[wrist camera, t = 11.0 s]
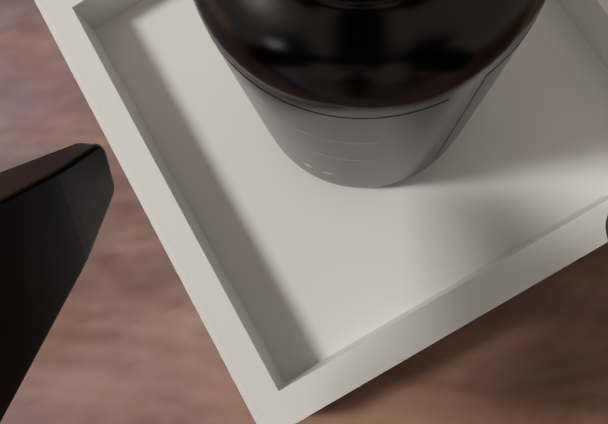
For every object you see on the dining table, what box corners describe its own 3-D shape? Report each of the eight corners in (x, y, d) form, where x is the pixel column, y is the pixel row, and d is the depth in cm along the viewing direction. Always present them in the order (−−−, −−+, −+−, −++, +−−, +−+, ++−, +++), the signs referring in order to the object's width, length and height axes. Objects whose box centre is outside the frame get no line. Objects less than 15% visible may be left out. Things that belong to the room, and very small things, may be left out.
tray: (699, 173, 17) (757, 154, 14) (278, 418, 17) (265, 440, 15) (435, -182, 20) (447, -248, 17) (73, 34, 20) (33, -1, 17)
